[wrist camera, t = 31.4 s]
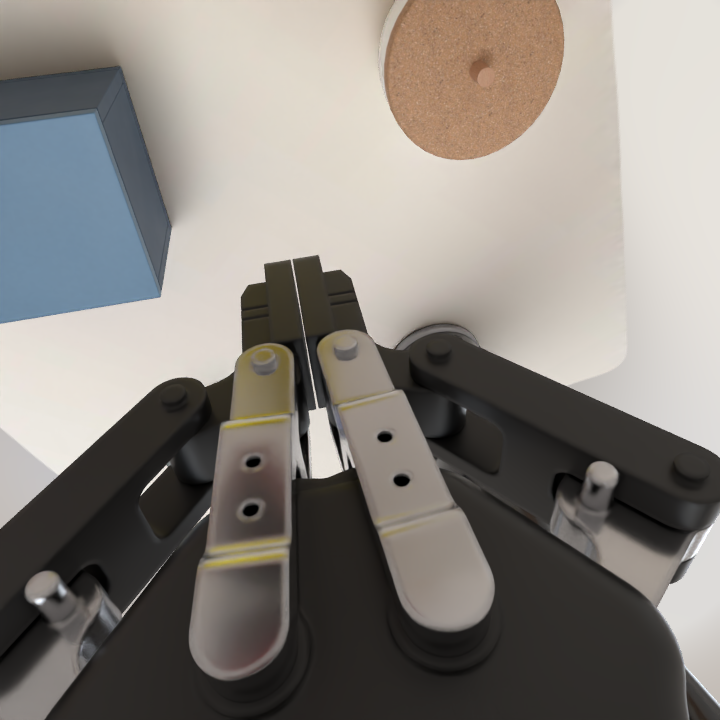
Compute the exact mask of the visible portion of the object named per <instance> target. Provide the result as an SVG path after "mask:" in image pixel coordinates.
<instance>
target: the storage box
mask: <svg viewBox="0 0 720 720" xmlns="http://www.w3.org/2000/svg"><path fill="white" fill-rule="evenodd" d="M95 108H96V109H97V111H98V113H99V116H100V119H101V122H102V125H103V128H104V130H105V133H106V136H107V139H108V142H109V144H110V147H111V150H112V153H113V156H114V159H115V161H116V164H117V167H118V170H119V173H120V175H121V178H122V181H123V184H124V187H125V190H126V192H127V195H128V198H129V201H130V204H131V206H132V209H133V212H134V215H135V218H136V221H137V223H138V226H139V229H140V232H141V235H142V237H143V240H144V243H145V246H146V249H147V252H148V254H149V257H150V260H151V263H152V266H153V268H154V271H155V274H156V277H157V280H158V283H159V285H160V288H161V290H162V285H163V279H164V272H165V266H166V260H167V254H168V248H169V241H170V235H171V229H172V228H171V225H170V222H169V219H168V216H167V212H166V209H165V206H164V203H163V200H162V196H161V193H160V190H159V187H158V184H157V181H156V177H155V174H154V171H153V168H152V165H151V161H150V158H149V155H148V152H147V149H146V146H145V142H144V139H143V136H142V133H141V130H140V126H139V123H138V120H137V117H136V114H135V111H134V107H133V104H132V101H131V98H130V95H129V91H128V88H127V85H126V82H125V79H124V76H123V72H122V69H121V67H120V66H118V67H110V68H101V69H93V70H84V71H76V72H68V73H59V74H51V75H42V76H34V77H26V78H17V79H9V80H0V121H3V120H10V119H18V118H26V117H33V116H41V115H49V114H56V113H64V112H72V111H79V110H87V109H95Z"/></svg>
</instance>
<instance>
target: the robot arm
mask: <svg viewBox="0 0 720 720" xmlns="http://www.w3.org/2000/svg"><path fill="white" fill-rule="evenodd" d="M293 264H294V270H295V276H296V282H297V288H298V294H299V300H300V306H301V313H302V319H303V325H304V331H305V337H306V342H307V347H308V353H309V358H310V364H311V369H312V374H313V380H314V385H315V390H316V396H317V401H318V407H319V408H324V407H326V408H327V413H328V418H329V424H330V430H331V434H332V438H333V441H334V445H335V448H336V452H337V455H338V459H339V462H340V466H341V469H342V472H340V473H338V474H336V475H333V476H331V477H328V478H324V479H312V467H311V443H310V432H309V424H310V419H309V412H308V411H309V410H314V409H316V404H315V398H314V392H313V386H312V380H311V374H310V368H309V362H308V355H307V349H306V343H305V337H304V331H303V325H302V319H301V314H300V308H299V303H298V297H297V292H296V287H295V281H294V276H293V271H292V265H291V260H286V261H280V262H273V263H267V264H264V268H265V279H266V282H264V283H258V284H252V285H248V286H247V288H246V290H245V291H244V293H243V294H242V296H241V310H242V311H241V318H242V354H241V355H240V356H239V358H238V359H237V361H236V364H235V371H234V372H233V373H232V374H231V375H230V376H228V377H227V378H225V379H223V380H221V381H219V382H217V383H214V384H212V385H209V386H207V387H204V385H203V384H202V383H201V382H200V381H198V380H196V379H193V378H175V379H172V380H169V381H166V382H164V383H162V384H160V385H158V386H157V387H155V388H154V389H153V390H152V391H151V392H150V393H148V394H147V395H146V396H145V397H144V398H143V399H142V400H141V401H140V402H139V403H138V404H136V405H135V406H134V407H133V408H132V409H131V410H130V411H129V412H128V413H127V414H125V415H124V416H123V417H122V418H121V419H120V420H119V421H118V422H117V423H116V424H115V425H113V426H112V427H111V428H110V429H109V430H108V431H107V432H106V433H105V434H104V435H103V436H101V437H100V438H99V439H98V440H97V441H96V442H95V443H94V444H93V445H92V446H91V447H89V448H88V449H87V450H86V451H85V452H84V453H83V454H82V455H81V456H80V457H79V458H77V459H76V460H75V461H74V462H73V463H72V464H71V465H70V466H69V467H68V468H66V469H65V470H64V471H63V472H62V473H61V474H60V475H59V476H58V477H57V478H56V479H54V480H53V481H52V482H51V483H50V484H49V485H48V486H47V487H46V488H45V489H44V490H42V491H41V492H40V493H39V494H38V495H37V496H36V497H35V498H34V499H33V500H32V501H30V502H29V503H28V504H27V505H26V506H25V507H24V508H23V509H22V510H21V511H20V512H18V513H17V514H16V515H15V516H14V517H13V518H12V519H11V520H10V521H9V522H7V523H6V524H5V525H4V526H3V527H2V528H1V529H0V720H720V704H719V703H718V702H717V701H716V700H715V699H714V698H713V697H712V695H711V694H710V693H709V692H708V691H707V690H706V689H705V688H704V687H703V685H702V684H701V683H700V682H699V681H698V680H697V679H696V678H695V677H694V676H693V674H692V673H691V672H690V671H689V670H688V669H687V668H686V667H685V666H684V662H683V657H682V653H681V650H680V647H679V644H678V642H677V640H676V637H675V635H674V633H673V632H672V630H671V628H670V626H669V625H668V623H667V621H666V620H665V618H664V617H663V615H662V614H661V613H660V611H659V610H658V609H657V606H658V604H659V603H660V600H661V599H662V597H663V595H664V593H665V591H666V589H667V587H668V585H669V584H672V583H674V582H677V581H678V580H680V579H681V578H682V577H683V576H684V574H685V573H686V571H687V569H688V568H689V566H690V564H691V562H692V561H693V559H694V557H695V555H696V554H697V552H698V550H699V548H700V546H701V545H702V543H703V541H704V540H705V538H706V536H707V534H708V532H709V531H710V529H711V527H712V525H713V524H714V522H715V520H716V518H717V516H718V515H719V513H720V458H719V457H718V456H717V455H716V454H714V453H712V452H711V451H709V450H707V449H705V448H703V447H701V446H699V445H697V444H694V443H692V442H690V441H688V440H686V439H683V438H681V437H678V436H676V435H674V434H672V433H670V432H667V431H665V430H663V429H661V428H659V427H656V426H654V425H652V424H650V423H647V422H645V421H643V420H641V419H638V418H636V417H634V416H632V415H629V414H627V413H625V412H623V411H621V410H618V409H616V408H614V407H611V406H609V405H607V404H605V403H603V402H600V401H598V400H596V399H594V398H591V397H589V396H587V395H585V394H583V393H580V392H578V391H576V390H574V389H571V388H569V387H567V386H565V385H562V384H560V383H558V382H556V381H553V380H551V379H549V378H547V377H544V376H542V375H540V374H538V373H536V372H533V371H531V370H529V369H527V368H524V367H522V366H520V365H518V364H515V363H513V362H511V361H509V360H506V359H504V358H502V357H500V356H497V355H495V354H493V353H491V352H488V351H486V350H484V349H482V348H480V346H479V344H478V342H477V340H476V339H475V337H474V336H473V335H472V334H471V333H470V332H469V331H467V330H466V329H464V328H462V327H459V326H455V325H449V324H440V325H433V326H429V327H426V328H423V329H420V330H418V331H416V332H414V333H413V334H411V335H409V336H408V337H407V338H405V339H404V340H403V341H402V342H401V343H400V344H399V345H398V347H397V348H396V349H389V348H385V347H382V346H380V345H378V344H376V343H375V342H374V341H373V339H372V338H371V337H370V336H369V335H368V333H367V330H366V326H365V323H364V320H363V317H362V313H361V310H360V307H359V303H358V301H357V297H356V293H355V290H354V287H353V283H352V280H351V278H350V277H349V276H347V275H346V274H345V273H344V272H343V271H341V270H336V271H330V272H324V273H323V272H322V267H321V263H320V259H319V255H316V256H310V257H304V258H297V259H293ZM168 462H170V466H169V467H168V468H167V469H166V470H165V471H164V472H163V473H162V474H161V475H160V476H159V477H158V478H157V479H156V480H155V482H154V483H153V484H152V485H151V486H150V487H149V488H148V489H147V490H146V491H145V492H144V493H143V494H142V495H141V493H142V491H143V490H144V488H145V487H146V486H147V484H148V483H149V482H150V481H151V480H152V479H153V478H154V477H155V476H156V475H157V474H158V473H159V472H160V471H161V470H162V469H163V468H164V466H165V465H166V464H167V463H168ZM210 507H211V508H210ZM209 508H210V514H208V515H207V516H206V517H205V518H203V519H202V520H201V521H200V522H199V523H197V522H198V521H199V520H200V519H201V517H202V516H203V515H204V514H205V513H206V511H207V510H208V509H209ZM194 526H195V527H194ZM193 527H194V528H193ZM192 528H193V529H192ZM174 550H175V551H174ZM173 551H174V552H173ZM170 555H171V556H170ZM169 556H170V557H169ZM167 559H168V560H167ZM166 560H167V561H166ZM165 561H166V562H165ZM164 562H165V563H164ZM163 564H164V565H163ZM162 565H163V566H162ZM161 566H162V567H161ZM160 567H161V569H160V570H159V568H160ZM158 570H159V571H158ZM157 571H158V573H157V574H156V575H155V576H154V574H155V573H156V572H157ZM153 576H154V578H153V579H152V580H151V582H150V583H149V584H148V586H147V587H146V588H145V589H144V591H143V592H142V593H141V595H140V596H139V597H138V598H137V600H136V601H135V602H134V604H133V605H132V606H131V607H130V609H129V610H128V611H127V612H126V614H125V615H124V617H123V618H122V613H123V612H124V611H125V610H126V608H127V607H128V606H129V605H130V604H131V602H132V601H133V600H134V599H135V598H136V596H137V595H138V594H139V593H140V591H141V590H142V589H143V588H144V587H145V585H146V584H147V583H148V582H149V581H150V579H151V578H152V577H153Z"/></svg>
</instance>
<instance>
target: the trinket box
mask: <svg viewBox="0 0 720 720" xmlns="http://www.w3.org/2000/svg"><path fill="white" fill-rule="evenodd" d="M563 53H564V32H563V23H562V19H561V15H560V11H559V8H558V6H557V3H556V1H555V0H396V1H395V2H394V4H393V6H392V7H391V9H390V11H389V13H388V16H387V18H386V20H385V23H384V26H383V30H382V34H381V39H380V46H379V73H380V80H381V84H382V88H383V91H384V94H385V97H386V100H387V102H388V104H389V106H390V109H391V111H392V113H393V115H394V117H395V119H396V121H397V123H398V124H399V126H400V127H401V129H402V130H403V132H404V133H405V134H406V136H407V137H408V138H409V139H411V140H412V141H413V142H414V143H415V144H416V145H417V146H419V147H420V148H422V149H423V150H424V151H426V152H428V153H431V154H433V155H435V156H438V157H442V158H446V159H455V160H465V159H474V158H478V157H482V156H486V155H489V154H491V153H493V152H496V151H498V150H500V149H502V148H503V147H505V146H507V145H509V144H510V143H512V142H513V141H514V140H515V139H517V138H518V137H519V136H521V135H522V134H523V133H524V132H525V131H526V130H527V129H528V128H529V127H530V126H531V125H532V124H533V122H534V121H535V120H536V119H537V117H538V116H539V115H540V114H541V112H542V111H543V109H544V107H545V106H546V104H547V102H548V101H549V99H550V97H551V95H552V93H553V90H554V88H555V86H556V83H557V80H558V77H559V74H560V71H561V65H562V60H563Z"/></svg>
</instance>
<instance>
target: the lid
mask: <svg viewBox="0 0 720 720" xmlns="http://www.w3.org/2000/svg"><path fill="white" fill-rule="evenodd" d="M159 297H161V288H160V285H159V283H158V280H157V277H156V274H155V271H154V268H153V266H152V263H151V260H150V257H149V254H148V252H147V249H146V246H145V243H144V240H143V237H142V235H141V232H140V229H139V226H138V223H137V221H136V218H135V215H134V212H133V209H132V206H131V204H130V201H129V198H128V195H127V192H126V190H125V187H124V184H123V181H122V178H121V175H120V173H119V170H118V167H117V164H116V161H115V159H114V156H113V153H112V150H111V147H110V144H109V142H108V139H107V136H106V133H105V130H104V128H103V125H102V122H101V119H100V116H99V113H98V111H97V109H96V108H95V109H87V110H79V111H72V112H64V113H56V114H49V115H41V116H33V117H26V118H18V119H10V120H3V121H0V324H1V323H7V322H13V321H19V320H25V319H31V318H38V317H44V316H50V315H56V314H62V313H68V312H74V311H80V310H86V309H92V308H98V307H104V306H110V305H116V304H122V303H128V302H134V301H140V300H147V299H153V298H159Z"/></svg>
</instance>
